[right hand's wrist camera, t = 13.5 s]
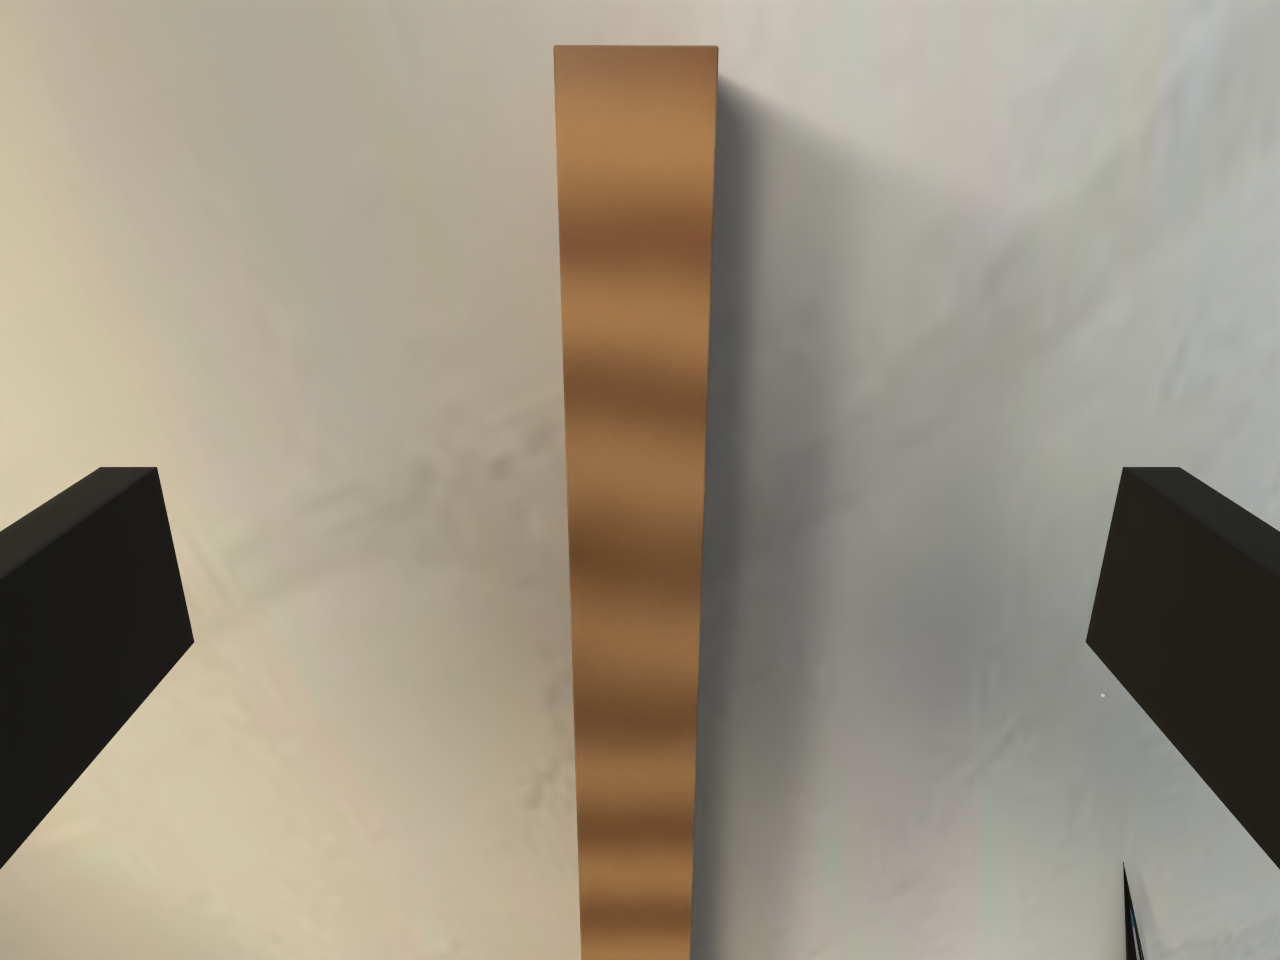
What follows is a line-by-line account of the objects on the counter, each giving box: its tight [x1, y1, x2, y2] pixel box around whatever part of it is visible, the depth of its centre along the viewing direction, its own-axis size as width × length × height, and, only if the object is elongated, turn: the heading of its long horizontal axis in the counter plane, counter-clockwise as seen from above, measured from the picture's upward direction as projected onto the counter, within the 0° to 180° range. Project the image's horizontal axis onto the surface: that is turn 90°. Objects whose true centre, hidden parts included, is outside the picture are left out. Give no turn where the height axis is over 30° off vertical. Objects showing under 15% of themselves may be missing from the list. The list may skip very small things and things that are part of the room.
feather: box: [1100, 694, 1144, 960], centre depth 47 cm, size 2×28×2 cm
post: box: [554, 45, 718, 960], centre depth 39 cm, size 55×5×8 cm, turn 0°
